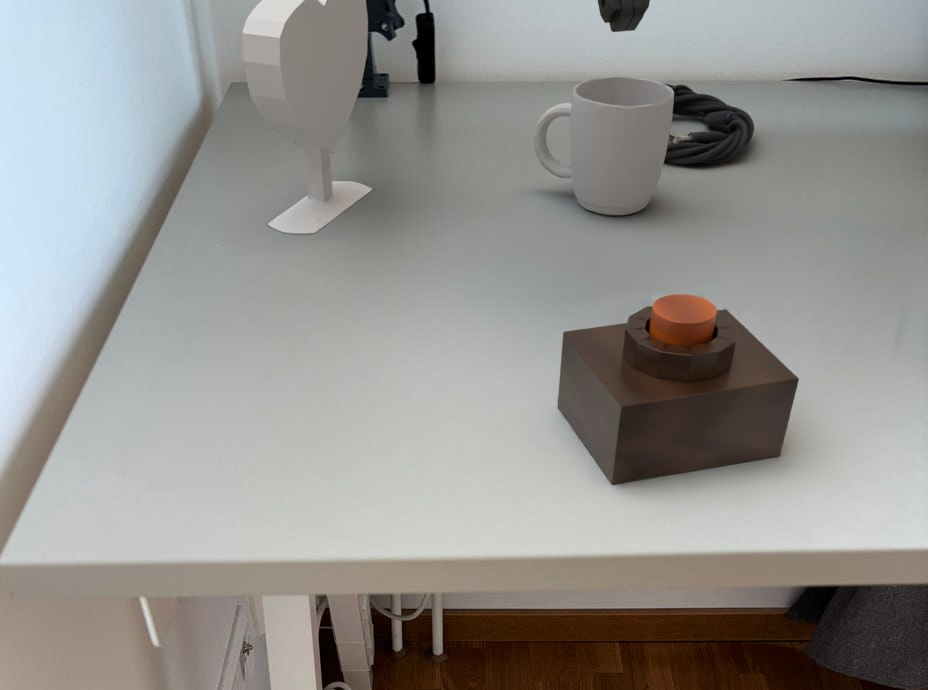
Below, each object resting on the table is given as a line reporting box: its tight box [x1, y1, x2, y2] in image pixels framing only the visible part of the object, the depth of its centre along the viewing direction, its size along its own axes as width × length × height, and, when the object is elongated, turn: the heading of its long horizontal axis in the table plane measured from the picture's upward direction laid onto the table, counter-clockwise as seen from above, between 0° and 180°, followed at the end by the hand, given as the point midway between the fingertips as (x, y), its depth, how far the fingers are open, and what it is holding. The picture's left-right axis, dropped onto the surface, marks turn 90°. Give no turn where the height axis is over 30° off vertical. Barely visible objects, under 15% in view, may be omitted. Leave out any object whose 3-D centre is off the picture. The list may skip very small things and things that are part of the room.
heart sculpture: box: [241, 0, 373, 235], centre depth 97 cm, size 16×5×18 cm, turn 156°
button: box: [649, 293, 718, 346], centre depth 69 cm, size 4×4×2 cm
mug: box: [533, 75, 674, 216], centre depth 101 cm, size 13×9×10 cm
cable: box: [664, 83, 755, 165], centre depth 115 cm, size 17×14×4 cm
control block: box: [557, 305, 800, 485], centre depth 71 cm, size 12×10×8 cm
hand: (629, 23), depth 68 cm, fingers closed
